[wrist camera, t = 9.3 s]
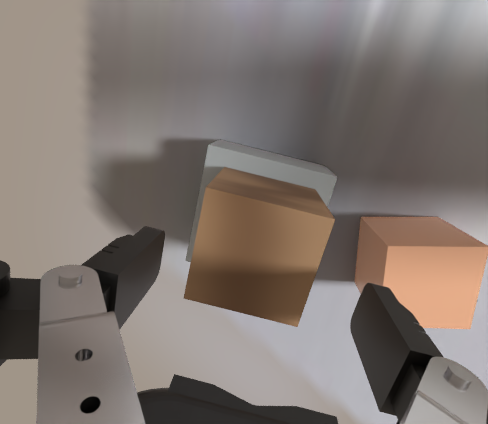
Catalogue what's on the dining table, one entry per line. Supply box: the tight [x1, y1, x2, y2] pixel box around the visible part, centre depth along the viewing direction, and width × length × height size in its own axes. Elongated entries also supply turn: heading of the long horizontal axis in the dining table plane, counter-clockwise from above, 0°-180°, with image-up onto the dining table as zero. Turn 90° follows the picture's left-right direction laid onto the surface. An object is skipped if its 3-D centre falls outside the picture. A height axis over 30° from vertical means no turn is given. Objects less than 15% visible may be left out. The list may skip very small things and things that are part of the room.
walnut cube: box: [184, 167, 335, 327], centre depth 14 cm, size 5×5×5 cm
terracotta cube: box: [355, 217, 488, 329], centre depth 19 cm, size 5×5×5 cm
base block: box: [186, 139, 338, 262], centre depth 19 cm, size 7×7×4 cm
